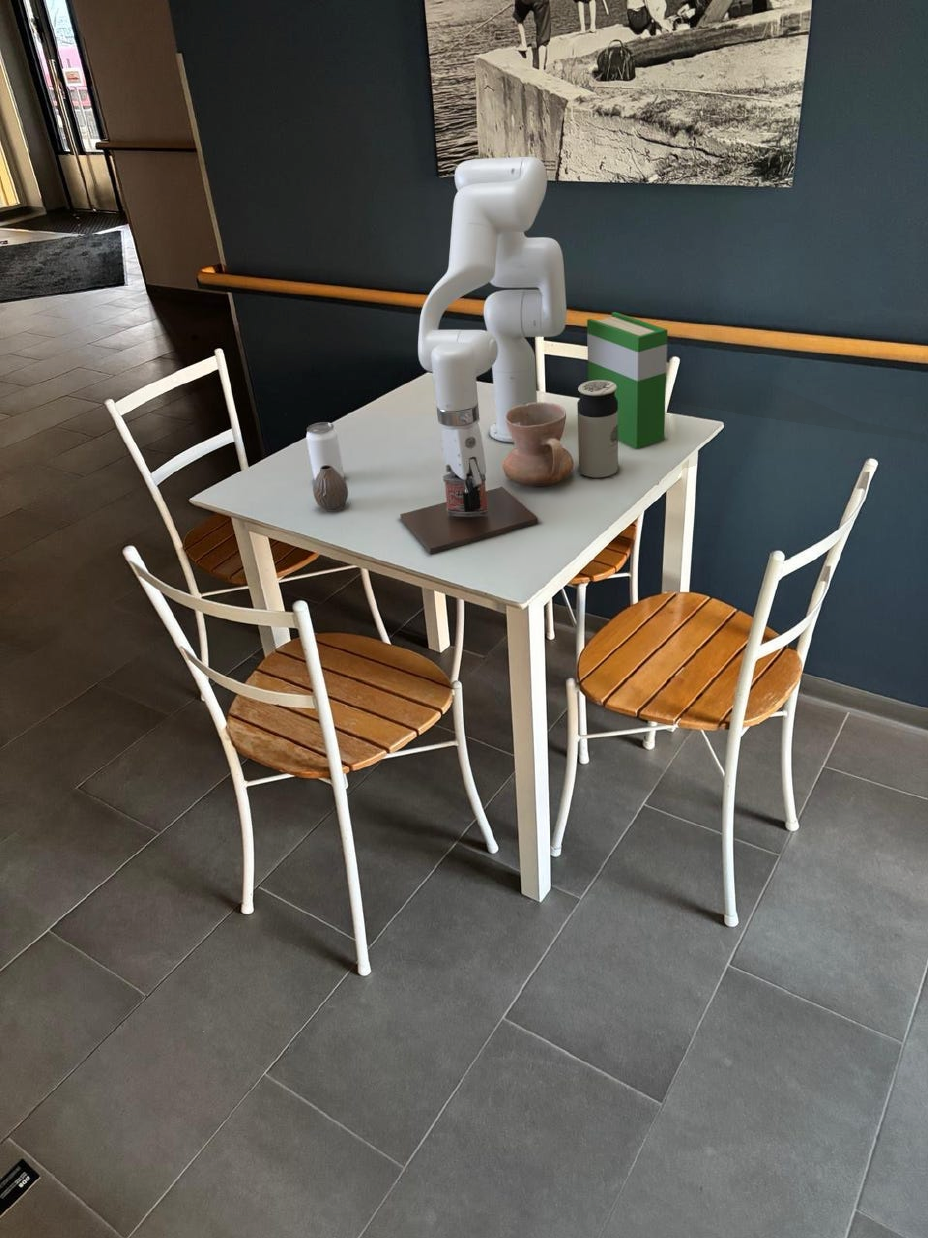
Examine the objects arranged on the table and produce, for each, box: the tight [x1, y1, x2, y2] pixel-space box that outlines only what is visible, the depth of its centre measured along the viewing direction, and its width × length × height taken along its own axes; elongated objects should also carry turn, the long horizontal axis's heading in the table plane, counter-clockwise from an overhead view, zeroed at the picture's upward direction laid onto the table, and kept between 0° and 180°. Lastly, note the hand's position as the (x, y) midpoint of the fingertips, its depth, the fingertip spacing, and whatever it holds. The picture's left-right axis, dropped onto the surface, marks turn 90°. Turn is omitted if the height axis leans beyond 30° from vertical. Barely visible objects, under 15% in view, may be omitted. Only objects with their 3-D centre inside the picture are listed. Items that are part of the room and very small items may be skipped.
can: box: [305, 421, 345, 481], centre depth 199 cm, size 6×6×12 cm
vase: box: [312, 465, 349, 512], centre depth 189 cm, size 7×7×9 cm
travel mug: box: [576, 380, 619, 479], centre depth 190 cm, size 8×8×18 cm
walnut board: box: [399, 486, 539, 555], centre depth 181 cm, size 22×16×1 cm
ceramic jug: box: [502, 401, 575, 487], centre depth 190 cm, size 18×14×14 cm
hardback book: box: [586, 311, 668, 449], centre depth 203 cm, size 18×7×24 cm, turn 29°
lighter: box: [442, 464, 488, 516], centre depth 177 cm, size 8×3×10 cm, turn 79°
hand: (466, 503), depth 179 cm, fingers closed on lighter, 4 cm apart
